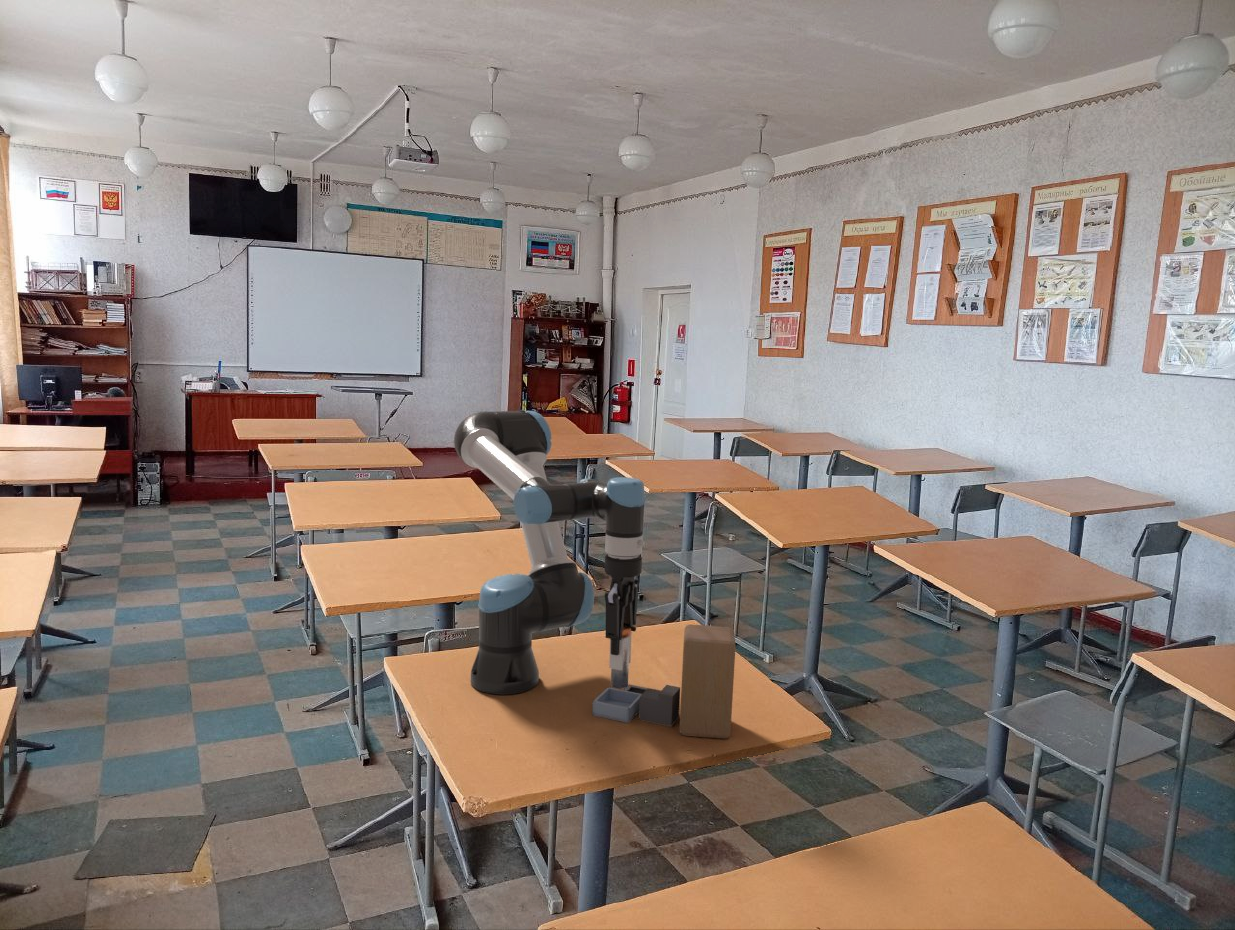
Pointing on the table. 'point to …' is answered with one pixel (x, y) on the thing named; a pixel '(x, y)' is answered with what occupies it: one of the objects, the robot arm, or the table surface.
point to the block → (707, 681)
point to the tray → (616, 705)
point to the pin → (621, 676)
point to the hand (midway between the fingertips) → (619, 664)
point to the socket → (635, 689)
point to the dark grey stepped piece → (660, 705)
